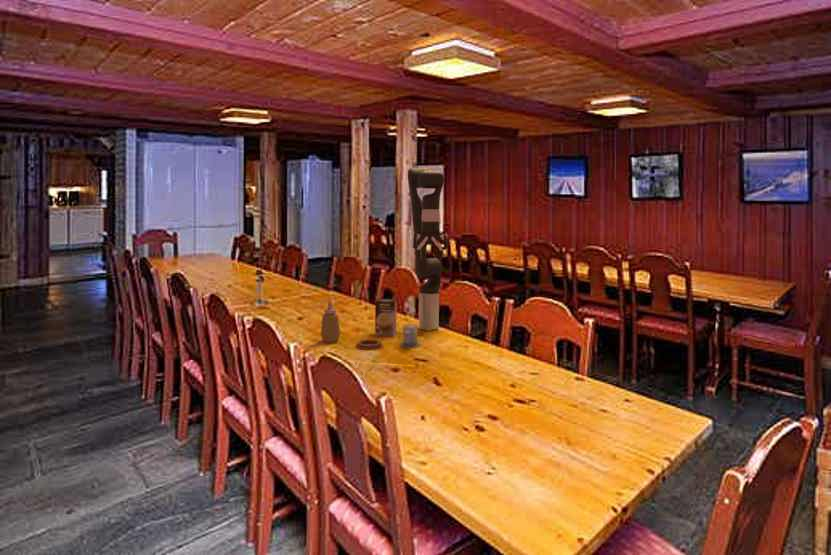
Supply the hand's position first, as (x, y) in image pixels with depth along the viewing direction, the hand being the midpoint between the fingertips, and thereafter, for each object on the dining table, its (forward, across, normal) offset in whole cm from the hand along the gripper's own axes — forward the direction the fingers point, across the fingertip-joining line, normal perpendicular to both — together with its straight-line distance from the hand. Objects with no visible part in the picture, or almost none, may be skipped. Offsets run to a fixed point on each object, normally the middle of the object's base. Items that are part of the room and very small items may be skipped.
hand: (430, 259), depth 232 cm
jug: (+35, -7, -10) cm, 37 cm away
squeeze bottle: (+36, -41, -9) cm, 55 cm away
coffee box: (+36, -21, +8) cm, 43 cm away
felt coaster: (+36, -7, -7) cm, 37 cm away
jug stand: (+36, -23, -13) cm, 45 cm away
